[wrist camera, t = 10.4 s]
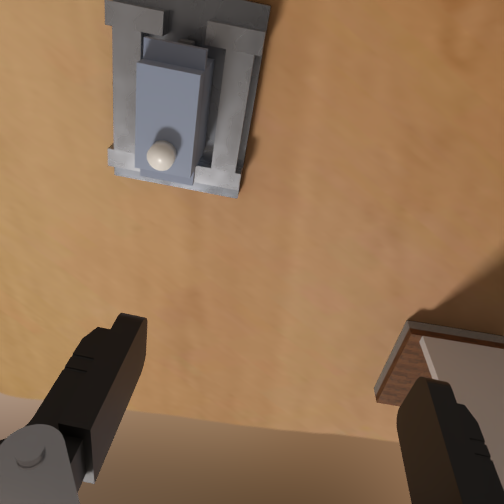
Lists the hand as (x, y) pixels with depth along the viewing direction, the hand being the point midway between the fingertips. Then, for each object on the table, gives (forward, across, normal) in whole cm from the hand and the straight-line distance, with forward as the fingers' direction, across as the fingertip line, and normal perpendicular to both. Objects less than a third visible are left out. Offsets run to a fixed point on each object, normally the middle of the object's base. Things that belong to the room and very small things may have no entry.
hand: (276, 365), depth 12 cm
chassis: (+26, +9, 0) cm, 27 cm away
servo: (+25, +9, 0) cm, 26 cm away
